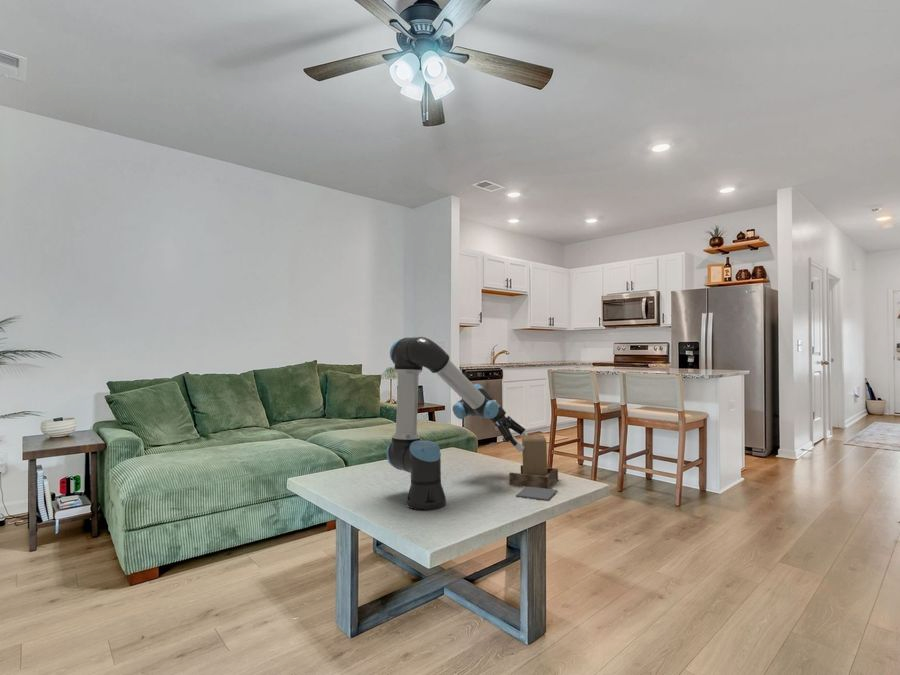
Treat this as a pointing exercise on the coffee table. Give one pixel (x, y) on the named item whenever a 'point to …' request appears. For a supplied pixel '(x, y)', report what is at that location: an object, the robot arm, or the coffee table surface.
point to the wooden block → (534, 455)
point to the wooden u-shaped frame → (534, 479)
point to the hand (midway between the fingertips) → (527, 447)
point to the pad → (537, 493)
